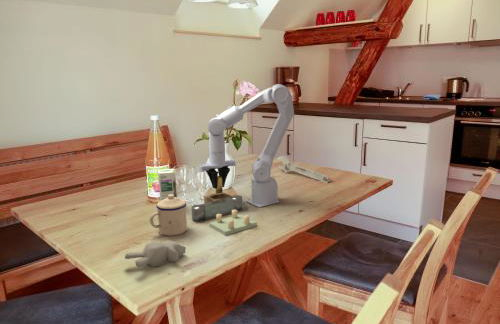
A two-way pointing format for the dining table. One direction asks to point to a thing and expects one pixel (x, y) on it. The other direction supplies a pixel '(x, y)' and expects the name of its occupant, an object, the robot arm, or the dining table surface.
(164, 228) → the teacup with lid
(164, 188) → the syrup box
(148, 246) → the bunny figurine
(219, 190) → the pin
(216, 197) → the slot block
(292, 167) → the wrench
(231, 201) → the ball-knob grey rod
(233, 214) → the rack
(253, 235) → the dining table surface
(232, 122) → the robot arm
